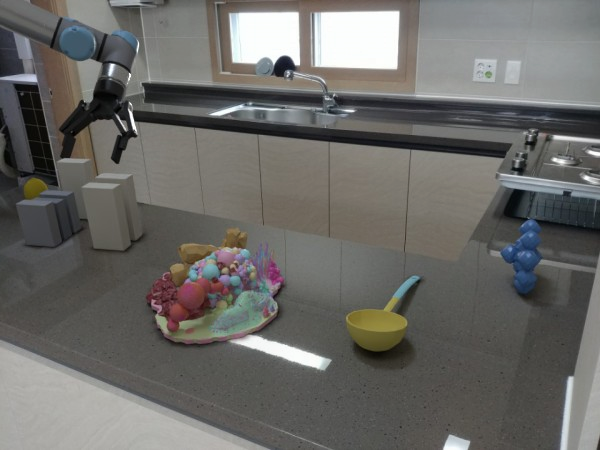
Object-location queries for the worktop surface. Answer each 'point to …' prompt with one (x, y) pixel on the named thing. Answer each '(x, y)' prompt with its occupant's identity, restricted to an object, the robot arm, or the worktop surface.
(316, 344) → the worktop surface
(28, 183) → the lemon
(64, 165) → the cream tall block
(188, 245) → the candy landscape model
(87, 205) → the cream book row
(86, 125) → the robot arm
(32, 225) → the grey books
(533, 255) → the grapes
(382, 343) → the ladle
